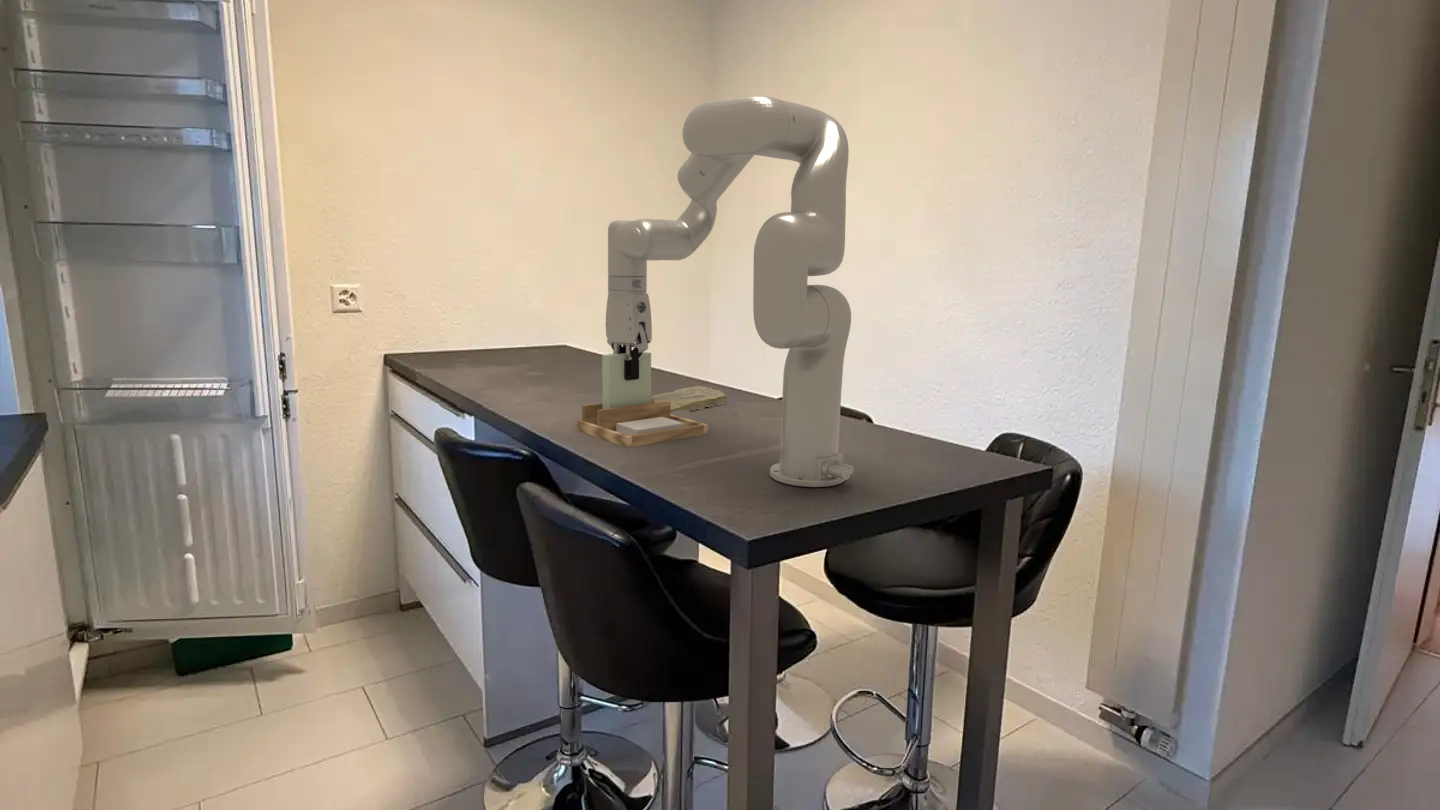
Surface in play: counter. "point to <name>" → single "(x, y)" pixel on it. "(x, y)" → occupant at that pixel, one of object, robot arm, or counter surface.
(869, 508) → the counter surface
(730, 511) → the counter surface
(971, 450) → the counter surface
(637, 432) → the upper offcut
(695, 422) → the tray
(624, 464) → the counter surface
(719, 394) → the stone slab
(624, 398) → the pale green slab
